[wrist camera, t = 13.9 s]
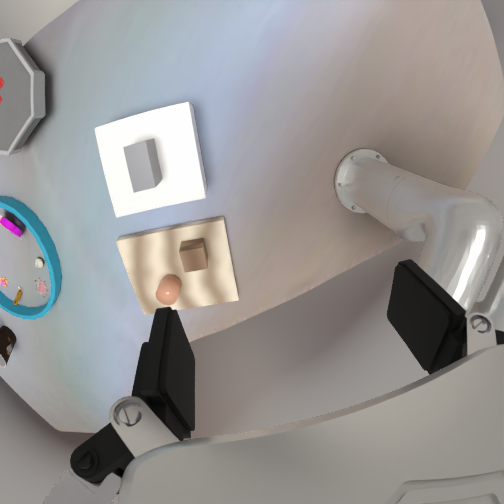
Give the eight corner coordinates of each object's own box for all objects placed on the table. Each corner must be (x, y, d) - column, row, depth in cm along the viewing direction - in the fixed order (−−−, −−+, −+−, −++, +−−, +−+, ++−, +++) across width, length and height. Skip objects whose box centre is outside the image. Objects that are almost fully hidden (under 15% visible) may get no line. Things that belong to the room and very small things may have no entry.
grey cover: (193, 105, 39) (184, 98, 28) (207, 185, 46) (204, 208, 34) (113, 126, 39) (79, 130, 27) (130, 202, 45) (105, 230, 34)
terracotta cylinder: (178, 295, 52) (173, 308, 49) (159, 287, 51) (153, 300, 48) (183, 279, 51) (179, 292, 47) (163, 271, 50) (158, 284, 46)
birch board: (223, 216, 49) (223, 220, 47) (237, 294, 57) (238, 300, 55) (119, 236, 48) (116, 241, 46) (146, 308, 56) (144, 314, 54)
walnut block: (203, 237, 48) (202, 247, 44) (208, 257, 50) (207, 268, 46) (181, 241, 48) (178, 251, 44) (186, 261, 50) (184, 272, 46)
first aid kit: (-25, 94, 27) (20, 164, 38) (-46, 97, 20) (-2, 173, 31) (20, 29, 24) (71, 96, 35) (0, 24, 17) (49, 94, 28)
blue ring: (68, 218, 45) (54, 230, 40) (61, 326, 56) (53, 341, 51) (-24, 181, 36) (-39, 189, 31) (-19, 284, 47) (-30, 296, 42)
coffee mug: (17, 348, 57) (5, 371, 48) (-3, 333, 54) (-16, 354, 45) (21, 329, 54) (6, 353, 45) (-1, 312, 51) (-17, 334, 42)
